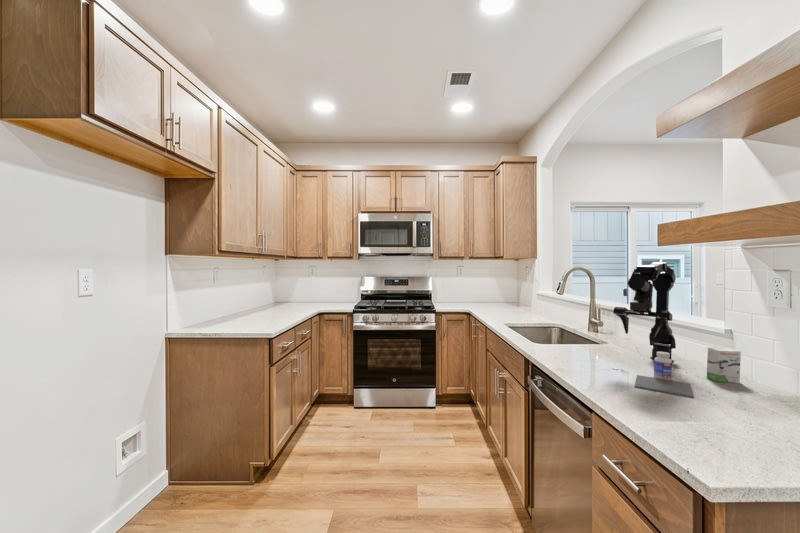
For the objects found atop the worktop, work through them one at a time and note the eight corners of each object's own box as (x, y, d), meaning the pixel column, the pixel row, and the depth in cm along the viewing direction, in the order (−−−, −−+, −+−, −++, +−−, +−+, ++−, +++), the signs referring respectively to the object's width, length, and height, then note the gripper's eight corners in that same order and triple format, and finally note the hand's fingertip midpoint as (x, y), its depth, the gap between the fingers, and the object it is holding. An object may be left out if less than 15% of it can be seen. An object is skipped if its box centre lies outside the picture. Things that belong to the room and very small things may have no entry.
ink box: (716, 382, 134) (717, 350, 134) (705, 377, 139) (706, 346, 139) (740, 382, 134) (741, 350, 134) (729, 378, 139) (730, 347, 139)
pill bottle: (665, 381, 134) (666, 354, 134) (650, 376, 139) (651, 351, 139) (674, 379, 136) (675, 353, 136) (659, 375, 141) (660, 350, 141)
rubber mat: (636, 376, 140) (636, 374, 140) (690, 385, 130) (690, 383, 130) (634, 387, 127) (634, 385, 127) (693, 398, 117) (693, 396, 117)
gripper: (610, 290, 147) (606, 328, 144) (667, 292, 133) (664, 335, 130) (619, 296, 154) (615, 333, 151) (674, 299, 140) (671, 340, 137)
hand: (640, 335), depth 142 cm, fingers open, 9 cm apart
